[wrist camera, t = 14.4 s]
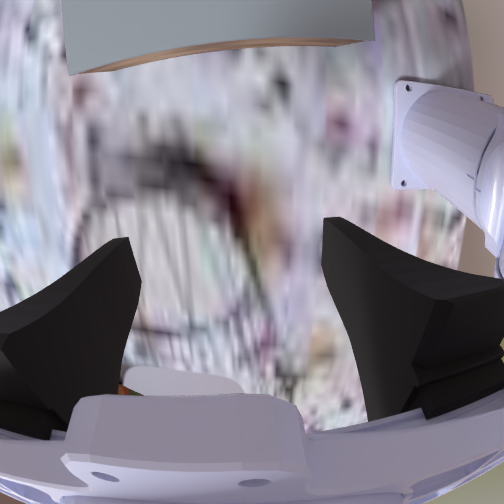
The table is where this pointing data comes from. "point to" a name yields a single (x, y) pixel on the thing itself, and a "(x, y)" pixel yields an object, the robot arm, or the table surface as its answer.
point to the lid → (199, 25)
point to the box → (222, 46)
